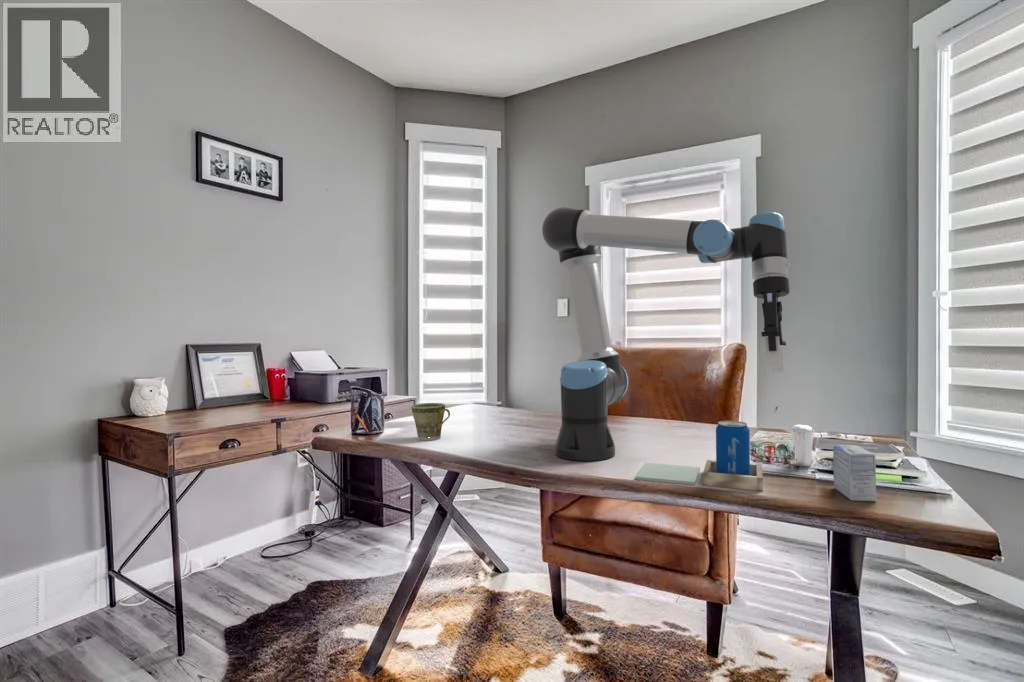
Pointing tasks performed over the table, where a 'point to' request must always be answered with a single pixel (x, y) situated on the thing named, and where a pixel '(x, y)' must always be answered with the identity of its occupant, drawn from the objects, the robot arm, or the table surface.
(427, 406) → the ceramic cup
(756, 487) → the crate
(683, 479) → the mat
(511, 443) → the table surface
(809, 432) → the milkshake
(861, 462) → the medicine box
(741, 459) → the beverage can
